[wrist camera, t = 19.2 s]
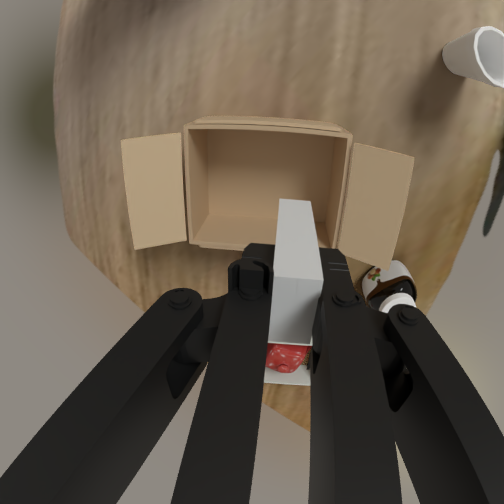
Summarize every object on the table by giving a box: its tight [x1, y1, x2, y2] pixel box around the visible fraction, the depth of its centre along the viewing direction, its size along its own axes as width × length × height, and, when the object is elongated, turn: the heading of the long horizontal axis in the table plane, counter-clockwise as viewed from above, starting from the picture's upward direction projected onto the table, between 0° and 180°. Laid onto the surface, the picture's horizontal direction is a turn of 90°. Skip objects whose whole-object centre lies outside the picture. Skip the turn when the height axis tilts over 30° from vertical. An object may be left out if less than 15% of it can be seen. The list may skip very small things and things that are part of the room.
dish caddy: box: [264, 337, 312, 386], centre depth 67 cm, size 17×16×6 cm
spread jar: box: [362, 260, 417, 313], centre depth 54 cm, size 12×11×12 cm
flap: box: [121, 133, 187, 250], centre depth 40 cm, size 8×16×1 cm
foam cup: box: [442, 26, 504, 88], centre depth 29 cm, size 10×9×13 cm
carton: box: [184, 116, 353, 251], centre depth 45 cm, size 22×19×11 cm
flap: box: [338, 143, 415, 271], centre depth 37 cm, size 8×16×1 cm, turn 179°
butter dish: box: [266, 343, 312, 373], centre depth 67 cm, size 12×12×8 cm
